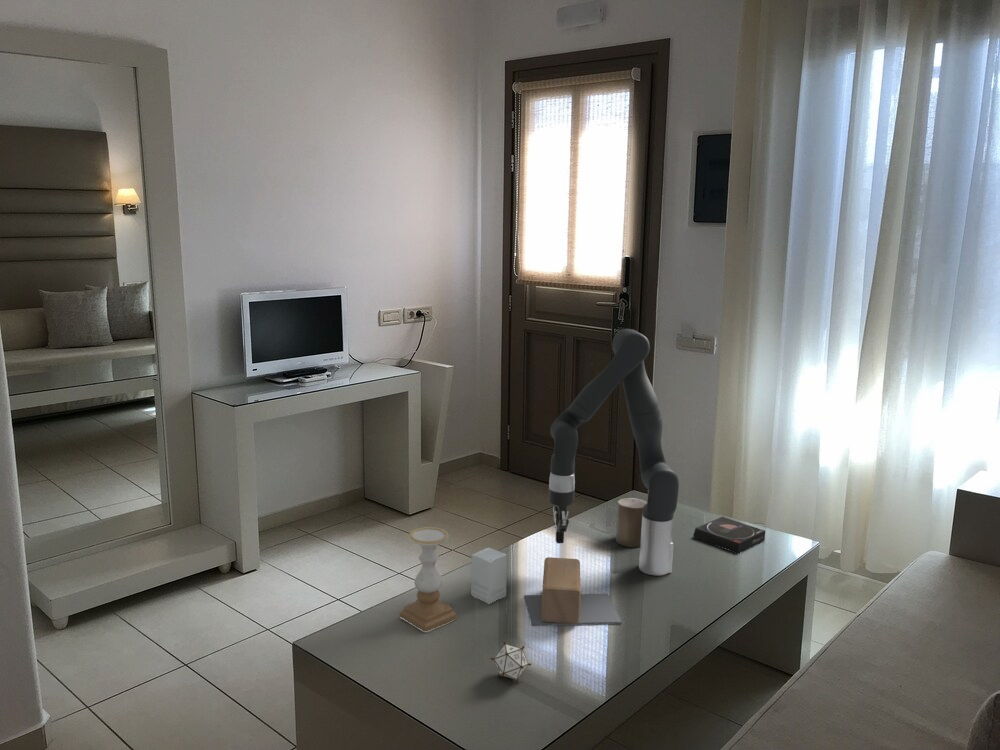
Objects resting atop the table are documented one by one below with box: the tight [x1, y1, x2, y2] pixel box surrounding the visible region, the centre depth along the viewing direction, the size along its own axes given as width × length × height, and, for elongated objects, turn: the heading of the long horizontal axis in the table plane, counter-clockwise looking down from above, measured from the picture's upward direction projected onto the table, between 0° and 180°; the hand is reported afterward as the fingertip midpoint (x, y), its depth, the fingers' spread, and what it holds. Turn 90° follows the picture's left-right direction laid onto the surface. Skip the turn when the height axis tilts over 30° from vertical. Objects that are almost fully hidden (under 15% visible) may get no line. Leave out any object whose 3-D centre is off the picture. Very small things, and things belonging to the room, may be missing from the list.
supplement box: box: [470, 547, 508, 605], centre depth 224 cm, size 7×7×13 cm
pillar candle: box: [615, 497, 647, 548], centre depth 264 cm, size 10×10×15 cm
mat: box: [523, 592, 623, 627], centre depth 219 cm, size 24×16×1 cm, turn 95°
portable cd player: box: [692, 516, 766, 554], centre depth 269 cm, size 16×17×4 cm
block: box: [541, 556, 582, 624], centre depth 219 cm, size 10×10×20 cm
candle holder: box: [399, 526, 457, 631], centre depth 210 cm, size 11×11×24 cm
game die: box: [490, 640, 532, 684], centre depth 186 cm, size 9×8×10 cm
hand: (559, 542), depth 239 cm, fingers closed
